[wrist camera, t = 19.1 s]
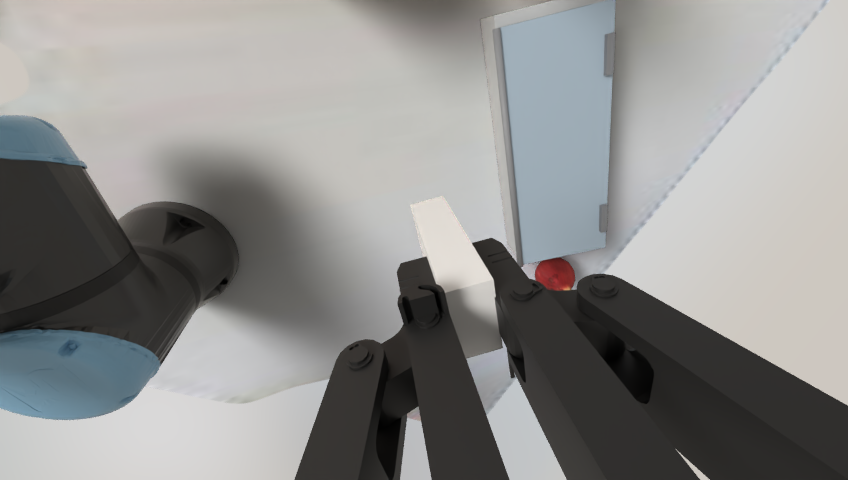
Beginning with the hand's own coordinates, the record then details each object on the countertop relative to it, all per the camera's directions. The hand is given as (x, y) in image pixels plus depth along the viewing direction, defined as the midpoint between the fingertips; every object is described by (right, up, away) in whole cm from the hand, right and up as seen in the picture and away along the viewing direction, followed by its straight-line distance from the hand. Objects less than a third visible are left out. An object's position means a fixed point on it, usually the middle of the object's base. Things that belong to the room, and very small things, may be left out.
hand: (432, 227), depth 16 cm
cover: (+10, +9, +28) cm, 31 cm away
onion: (+20, -4, +43) cm, 48 cm away
